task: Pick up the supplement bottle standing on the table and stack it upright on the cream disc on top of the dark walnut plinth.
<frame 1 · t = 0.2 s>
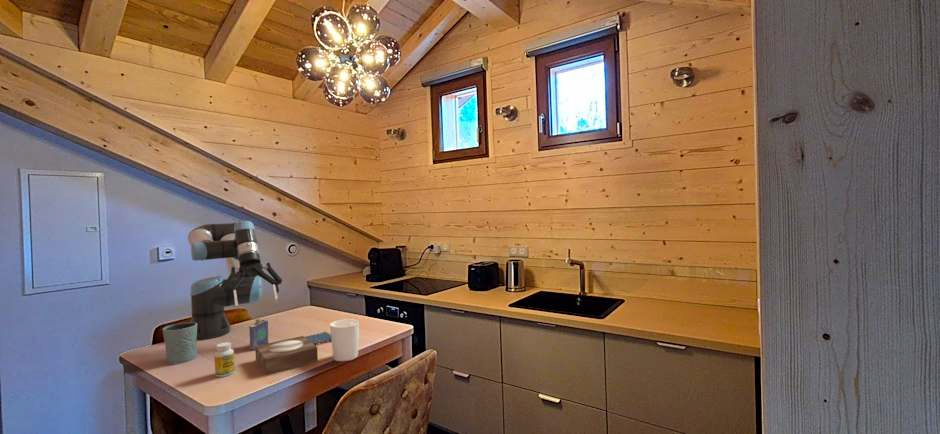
hand: (257, 303, 158), 16 cm above the table, tool tilted 35°, fingers open, 13 cm apart
supplement bottle: (225, 374, 132), on the table
woven mat: (317, 342, 162), on the table
candle holder: (345, 357, 144), on the table
flask: (259, 346, 157), on the table
walnut plinth: (286, 361, 141), on the table
green cylinder: (181, 359, 145), on the table
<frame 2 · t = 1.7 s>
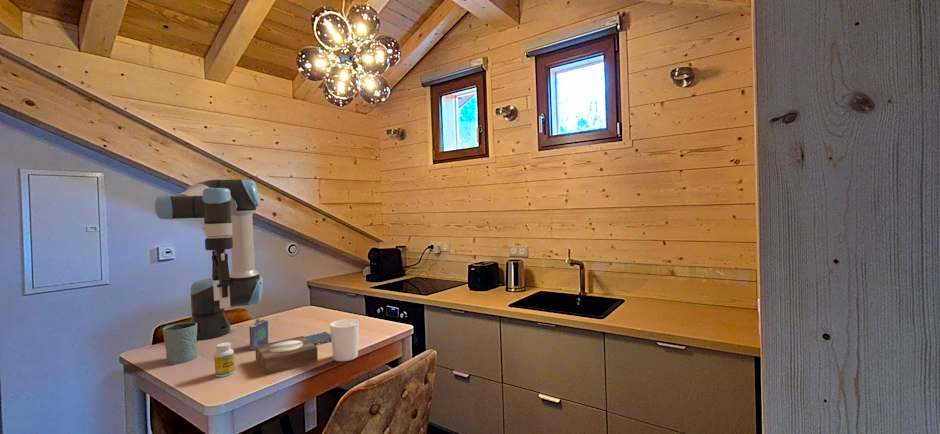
hand: (221, 303, 131), 23 cm above the table, tool pointing down, fingers open, 13 cm apart
nothing on the table moved.
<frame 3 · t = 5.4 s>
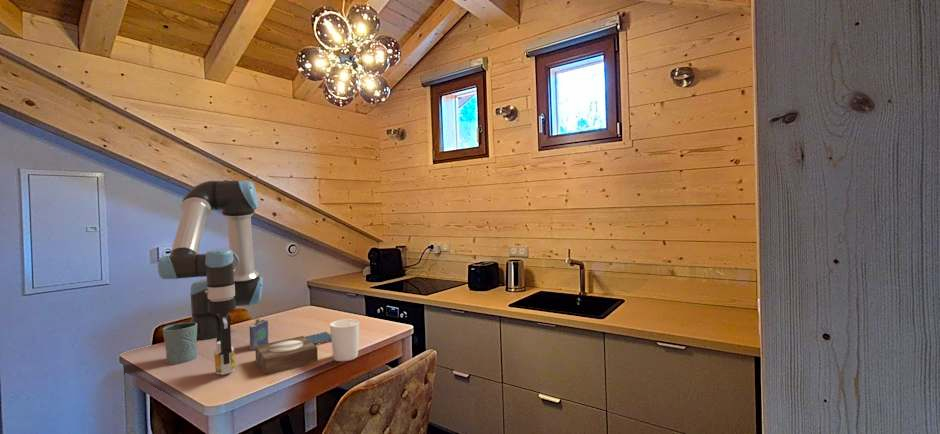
hand: (225, 370, 132), 1 cm above the table, tool pointing down, fingers closed on supplement bottle, 5 cm apart
supplement bottle: (225, 371, 132), point 1 cm above the table, touching gripper
everything else where it was.
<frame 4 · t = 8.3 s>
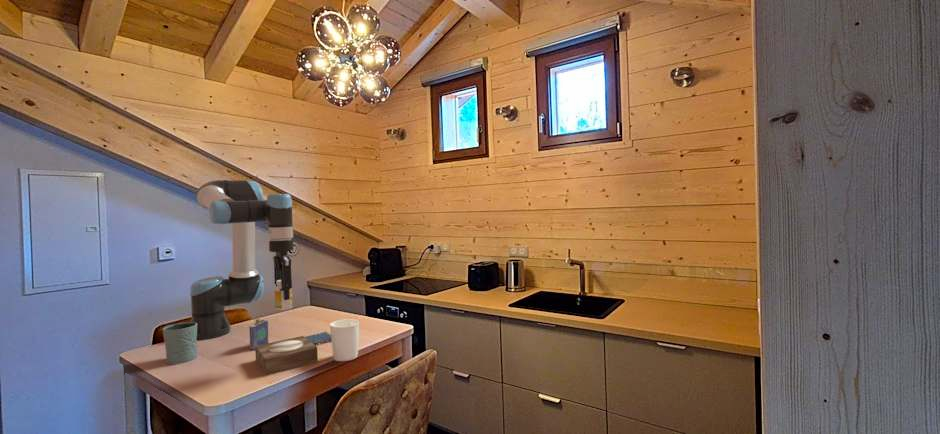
hand: (283, 307, 141), 19 cm above the table, tool pointing down, fingers closed on supplement bottle, 5 cm apart
supplement bottle: (284, 308, 141), point 18 cm above the table, touching gripper
everything else where it was.
when the fingers open (7 cm above the table, at t = 11.1 s): supplement bottle drops 1 cm, resting on walnut plinth.
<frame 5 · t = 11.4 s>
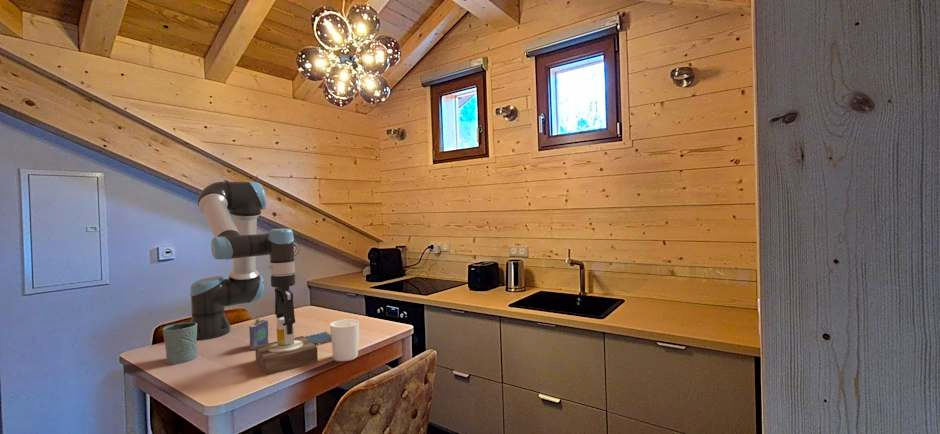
hand: (285, 339, 141), 7 cm above the table, tool pointing down, fingers open, 9 cm apart
supplement bottle: (285, 346, 141), point 5 cm above the table, touching walnut plinth
everything else where it was.
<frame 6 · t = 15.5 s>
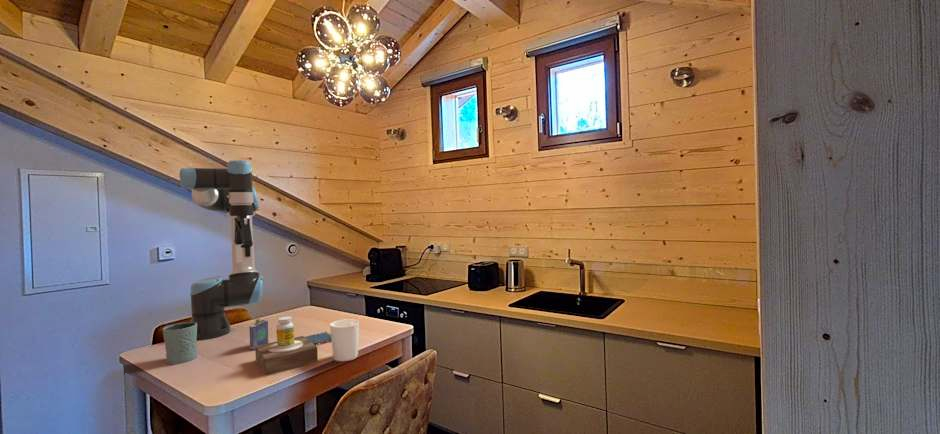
hand: (244, 264, 147), 33 cm above the table, tool pointing down, fingers open, 13 cm apart
nothing on the table moved.
at the end: supplement bottle inside the target area on the walnut plinth (0.0 cm from its centre), point 5.1 cm above the walnut plinth's base; supplement bottle tilted 0°; the gripper is holding nothing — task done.
